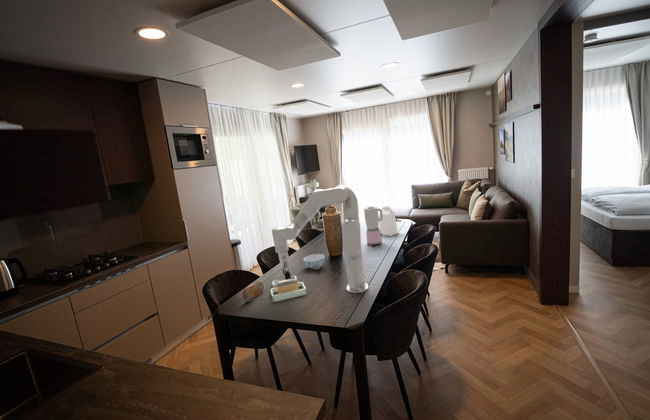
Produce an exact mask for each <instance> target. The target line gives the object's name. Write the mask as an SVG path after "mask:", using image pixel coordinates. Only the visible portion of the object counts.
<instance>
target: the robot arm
mask: <svg viewBox="0 0 650 420" xmlns="http://www.w3.org/2000/svg"><path fill="white" fill-rule="evenodd" d="M339 204H341V205H342V216H343V217H342V218H343V221H342V226H341V232H342V233H341V234H342V250H343V253H344V257H345V266H346V273H347V282H348V284H347V286H346V291H347V292H348V293H350V294H351V293H352V294H361V293H364V292H366V291H368V290H369V285H368V283H366V280H365V277H366V276H365V269H364V268H365V267H364V259H363V252H362V250H363V249H362V240H361V239H362V238H361V237H362V236H361V233H362V232H361V223H360V216H359V215H360V214H359V202H358V198H357V195H356V194H355V192H354V191H353V189H351V188H350V187H347V186H345V185H343V184H341V185H337V186H335V187H333V188H327V189H322V188H318V189H315V190H314V191H312V193H311V194H310V195H309V197H308V199H307V200H306V201H305V202H304V204H303V205H302V206H301V207H300V208H299V211H298V213H297V215H296V216H295V217H294V219H292V221H291V222H290V224H289V225H288V226H286V227H284V226H276V227H274V228H272V230H271V235H272V239H273V244H274V250H275V253H277V254H278V259H279V264H280V267H281V268H282V269H281V270H282V274H283V275H284V280H288V279H291V277H292V275H291V272H290V268H292V267H291V262H290V256H289V253H288V251H289V249H290V248H289V244H288V241H291V240H292V241H293V240H295V239H296V238H297V237H298V235H299V234H300V233H301V231H302V230H303V229H304V227H305V226H306V225H307V224H308V223H309V222H310V221H312V219H313V218H314V217H315V216H316V215H317V214H318V212H319V211H320V210H321V208H322V207H325V206H333V205H339Z"/></svg>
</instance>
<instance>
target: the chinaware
mask: <svg viewBox="0 0 650 420" xmlns="http://www.w3.org/2000/svg"><path fill="white" fill-rule="evenodd" d="M303 262H304V264H305V265H306V267H308V268H310V269H312V270H313V271H314V270H319V269H320V268H321V267H322V265H324V262H325V255H324V254H321V253H317V254H316V253H315V254H314V253H313V254H310V255H307V256H305V257H303Z"/></svg>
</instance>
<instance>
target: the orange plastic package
mask: <svg viewBox="0 0 650 420" xmlns="http://www.w3.org/2000/svg"><path fill="white" fill-rule="evenodd" d="M263 292H264V284H263V282H260V281H254V282H253V283H251V284H250V285H248V286H246V287H245V288H244V289H243V290H242V295H241V297H242V299H243V300H244V301H245V302H249V303H251V302H252V301H253V299H254V298H255V297H257V296H258V295H261V294H263Z"/></svg>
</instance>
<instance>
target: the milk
mask: <svg viewBox="0 0 650 420" xmlns="http://www.w3.org/2000/svg"><path fill="white" fill-rule="evenodd" d="M381 210H382V217H383V219H382V220H381V221H379V230H380V232H381V233H382V236H385V235H387V236H389V237H392V235H393V236H394V235H396V234H398V227H397V218H396V213H395V212H394V211H393V210H392V209H391V207H390V205H383V206H382V209H381ZM378 215H379V219H380V218H381V217H380V214H378Z"/></svg>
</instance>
